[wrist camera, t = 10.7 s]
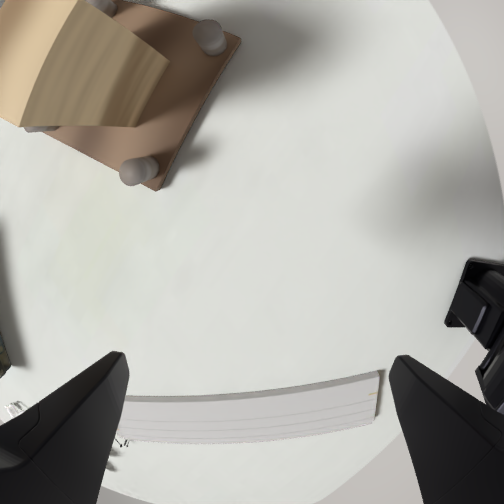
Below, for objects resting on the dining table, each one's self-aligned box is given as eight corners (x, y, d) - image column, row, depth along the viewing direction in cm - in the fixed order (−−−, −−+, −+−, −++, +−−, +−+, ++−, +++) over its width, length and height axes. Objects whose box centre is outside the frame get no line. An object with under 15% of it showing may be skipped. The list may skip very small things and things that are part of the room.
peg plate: (241, 41, 16) (236, 22, 13) (159, 189, 20) (140, 199, 17) (109, 0, 15) (87, -16, 11) (45, 130, 18) (16, 132, 15)
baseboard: (369, 424, 29) (375, 365, 26) (374, 442, 26) (383, 386, 23) (131, 440, 32) (95, 390, 29) (125, 456, 29) (85, 406, 26)
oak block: (170, 61, 16) (79, -3, 6) (135, 127, 18) (18, 127, 7) (113, 41, 15) (9, -8, 5) (82, 103, 17) (-37, 97, 7)
